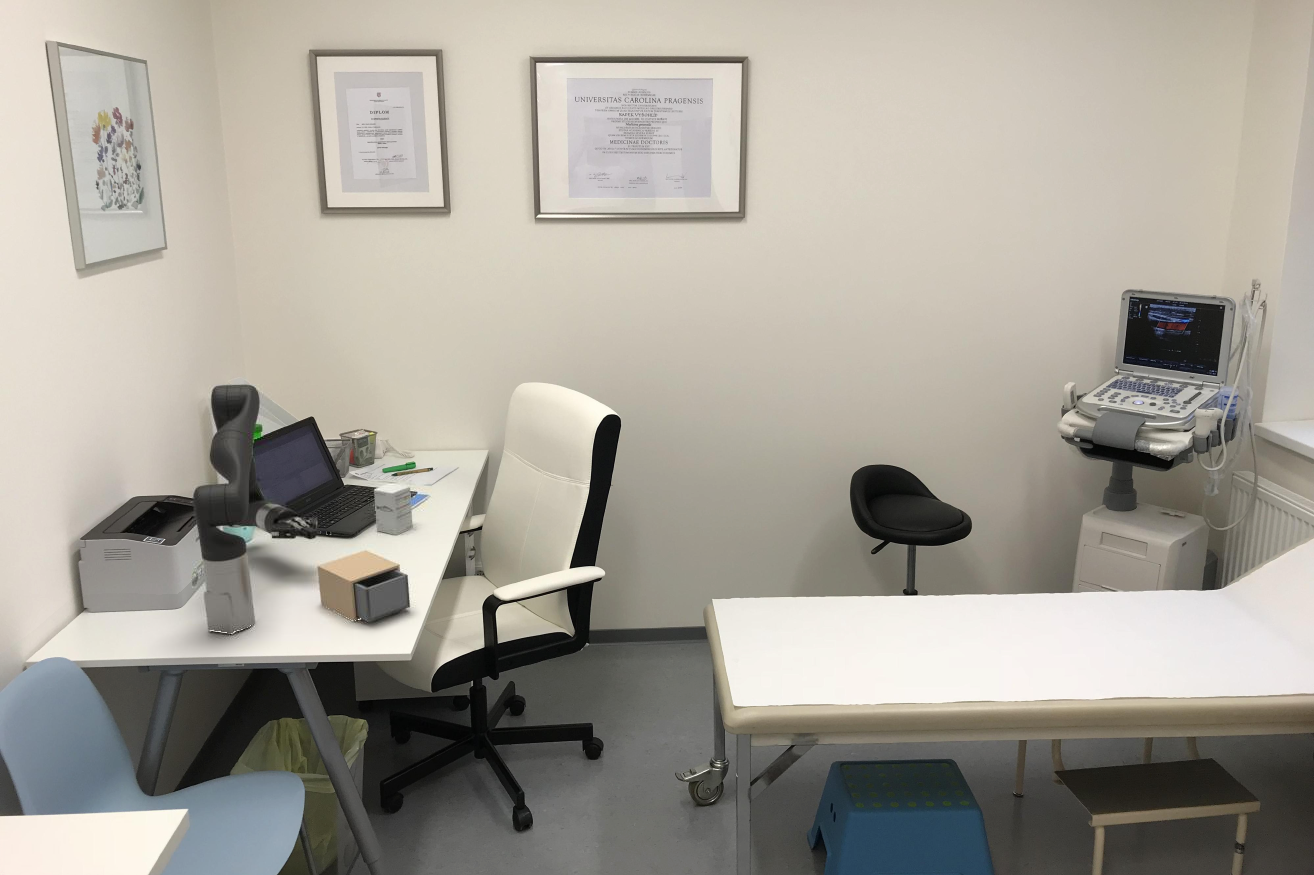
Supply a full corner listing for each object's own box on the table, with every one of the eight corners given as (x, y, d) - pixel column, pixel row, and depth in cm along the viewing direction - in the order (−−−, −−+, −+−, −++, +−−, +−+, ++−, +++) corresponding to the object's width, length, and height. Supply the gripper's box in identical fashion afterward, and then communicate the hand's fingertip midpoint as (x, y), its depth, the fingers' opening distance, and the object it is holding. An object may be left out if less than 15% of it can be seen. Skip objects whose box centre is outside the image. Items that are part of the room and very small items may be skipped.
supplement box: (376, 531, 288) (372, 489, 284) (394, 523, 294) (390, 482, 291) (396, 535, 284) (392, 493, 281) (413, 527, 291) (410, 485, 287)
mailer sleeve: (321, 605, 240) (317, 565, 237) (369, 588, 249) (365, 550, 247) (354, 622, 231) (350, 581, 228) (402, 604, 240) (399, 564, 238)
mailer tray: (321, 598, 241) (318, 566, 239) (361, 584, 249) (359, 553, 247) (368, 622, 228) (366, 589, 226) (410, 606, 236) (407, 574, 234)
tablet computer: (394, 495, 321) (394, 491, 321) (431, 498, 318) (431, 493, 318) (363, 514, 303) (363, 510, 302) (402, 518, 300) (402, 514, 300)
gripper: (251, 512, 254) (286, 527, 243) (299, 500, 264) (335, 513, 253) (254, 540, 256) (289, 556, 245) (302, 527, 266) (338, 542, 254)
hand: (313, 534), depth 249 cm, fingers closed
